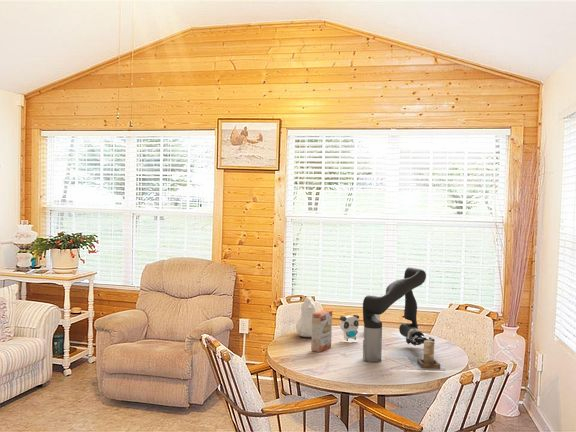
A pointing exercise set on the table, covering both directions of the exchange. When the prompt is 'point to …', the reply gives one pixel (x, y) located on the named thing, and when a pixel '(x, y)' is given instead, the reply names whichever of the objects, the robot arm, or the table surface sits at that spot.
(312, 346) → the cracker box
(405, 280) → the robot arm
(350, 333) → the panda figurine
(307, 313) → the decorative rooster
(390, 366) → the table surface
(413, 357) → the board
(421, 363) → the socket collar
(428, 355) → the maple pillar
